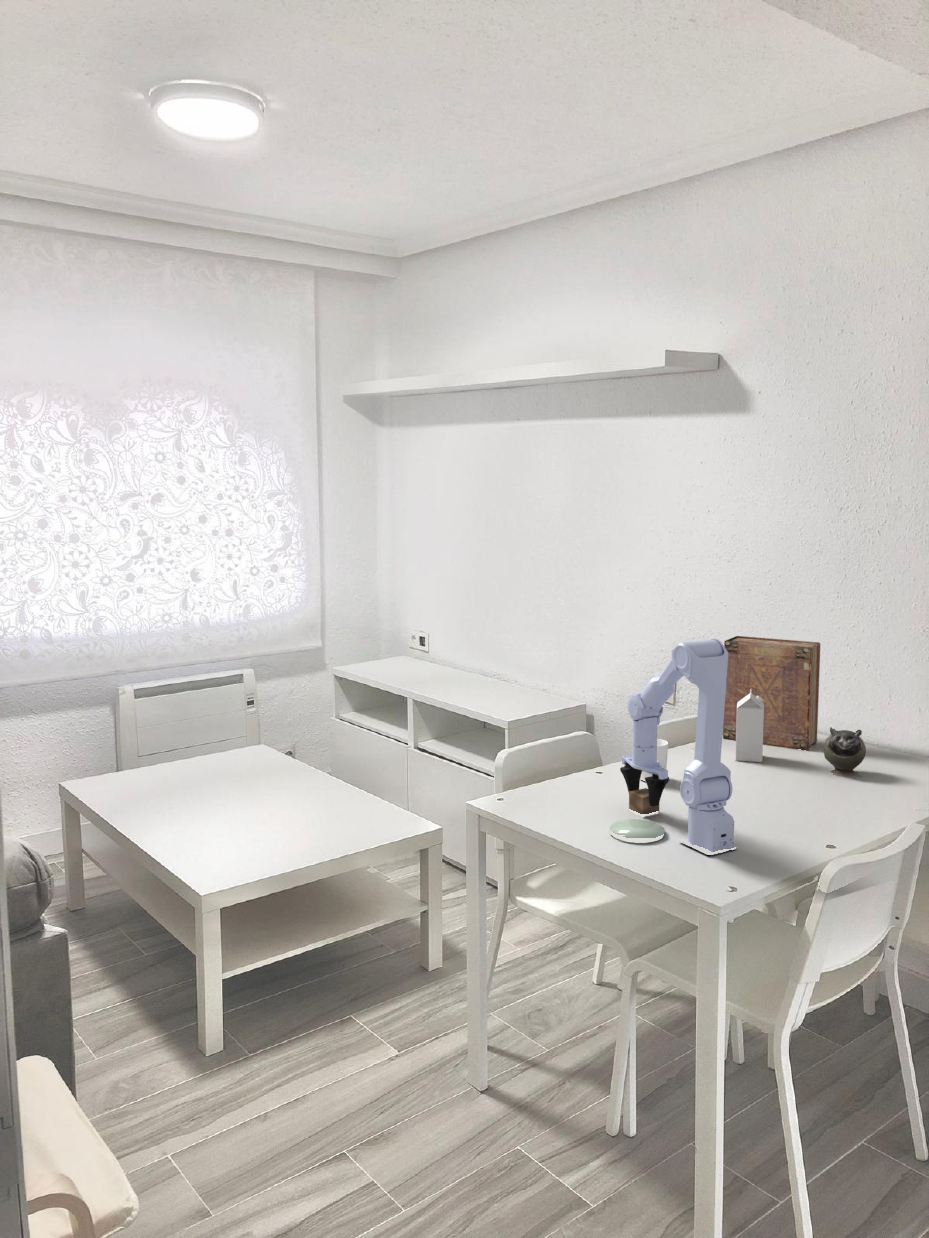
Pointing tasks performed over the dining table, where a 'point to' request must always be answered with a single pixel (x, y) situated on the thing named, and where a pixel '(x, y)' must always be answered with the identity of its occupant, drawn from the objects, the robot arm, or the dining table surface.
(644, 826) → the pale green domed disc
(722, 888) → the dining table surface
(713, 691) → the robot arm
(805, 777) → the dining table surface
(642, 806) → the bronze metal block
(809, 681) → the book
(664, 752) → the white cup
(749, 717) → the milk carton
